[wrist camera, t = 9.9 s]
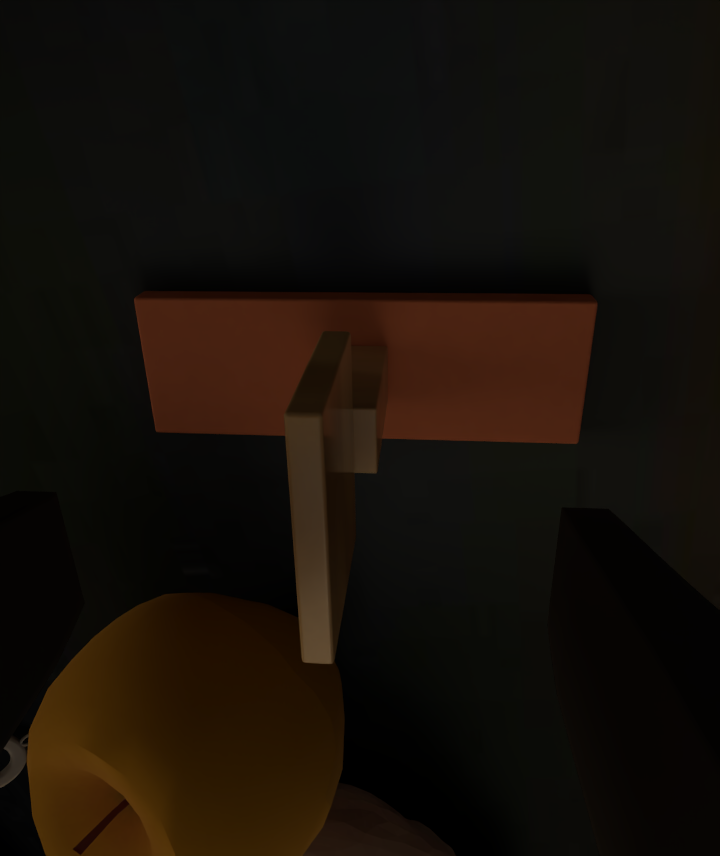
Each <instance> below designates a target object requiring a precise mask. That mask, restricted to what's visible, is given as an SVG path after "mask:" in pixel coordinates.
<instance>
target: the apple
mask: <svg viewBox="0 0 720 856" xmlns="http://www.w3.org/2000/svg"><path fill="white" fill-rule="evenodd" d="M344 723H345V717H344V705H343V694H342V683H341V678H340V673H339V669H338V667H337V665H336V663H335V661H334V662H333V664H318V663H305V662H303V661H302V656H301V643H300V629H299V618H298V617H296V616H293V615H291V614H289V613H287V612H284V611H282V610H280V609H278V608H275V607H273V606H271V605H269V604H265V603H260V602H255V601H250V600H245V599H240V598H235V597H230V596H226V595H221V594H216V593H174V594H165V595H162V596H160V597H157V598H155V599H152V600H150V601H147V602H145V603H142V604H140V605H137V606H136V607H134V608H133V609H131V610H129V611H128V612H126V613H125V614H123V615H122V616H120V617H118V618H117V619H116V620H114V621H113V622H112V623H111V624H109V625H108V626H107V627H106V628H104V629H103V630H102V631H101V632H100V633H98V634H97V635H96V636H95V637H93V638H92V639H91V640H90V641H89V643H88V644H87V645H86V646H85V647H84V648H83V649H82V650H81V651H80V652H79V653H78V654H77V655H76V656H75V657H74V658H73V659H72V660H71V661H70V663H69V664H68V665H67V666H66V667H65V669H64V670H63V671H62V672H61V673H60V675H59V676H58V677H57V678H56V679H55V681H54V682H53V683H52V684H51V685H50V687H49V688H48V690H47V692H46V694H45V696H44V699H43V701H42V703H41V705H40V707H39V710H38V712H37V714H36V716H35V718H34V721H33V723H32V725H31V727H30V729H29V739H28V752H27V767H28V776H29V785H30V796H31V806H32V817H33V820H34V823H35V826H36V828H37V831H38V834H39V837H40V840H41V843H42V846H43V849H44V852H45V854H46V856H303V854H304V853H305V851H306V850H307V849H308V847H309V846H310V844H311V843H312V842H313V840H314V839H315V837H316V836H317V835H318V833H319V832H320V830H321V829H322V828H323V826H324V823H325V821H326V818H327V816H328V813H329V811H330V808H331V805H332V802H333V798H334V795H335V792H336V789H337V786H338V782H339V779H340V776H341V773H342V769H343V748H344Z"/></svg>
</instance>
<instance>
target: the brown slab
mask: <svg viewBox="0 0 720 856" xmlns="http://www.w3.org/2000/svg"><path fill="white" fill-rule="evenodd" d="M387 402H388V348H387V347H386V346H351V334H350V332H347V331H324V332H322V334H321V336H320V338H319V340H318V342H317V344H316V347H315V349H314V351H313V353H312V355H311V357H310V360H309V362H308V364H307V366H306V368H305V370H304V372H303V375H302V377H301V379H300V381H299V383H298V385H297V388H296V390H295V392H294V394H293V396H292V398H291V400H290V403H289V405H288V407H287V409H286V411H285V414H284V426H285V439H286V453H287V466H288V480H289V493H290V507H291V521H292V534H293V548H294V561H295V575H296V588H297V602H298V616H299V629H300V643H301V656H302V661H303V662H305V663H318V664H333V662H334V660H335V654H336V648H337V643H338V637H339V631H340V625H341V619H342V614H343V608H344V602H345V596H346V591H347V585H348V579H349V573H350V568H351V562H352V556H353V550H354V544H355V539H356V519H355V479H354V473H377V471H378V464H379V457H380V450H381V443H382V436H383V430H384V423H385V416H386V409H387Z"/></svg>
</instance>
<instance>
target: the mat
mask: <svg viewBox="0 0 720 856" xmlns="http://www.w3.org/2000/svg"><path fill="white" fill-rule="evenodd" d="M134 303H135V309H136V315H137V321H138V327H139V333H140V339H141V345H142V351H143V357H144V363H145V369H146V375H147V381H148V387H149V393H150V399H151V405H152V411H153V417H154V423H155V429H156V432H169V433H205V434H242V435H279V436H285V426H284V414H285V411H286V409H287V407H288V405H289V403H290V400H291V398H292V396H293V394H294V392H295V390H296V388H297V385H298V383H299V381H300V379H301V377H302V375H303V372H304V370H305V368H306V366H307V364H308V362H309V360H310V357H311V355H312V353H313V351H314V349H315V347H316V344H317V342H318V340H319V338H320V336H321V334H322V332H324V331H347V332H350V334H351V346H386V347H387V348H388V402H387V409H386V416H385V423H384V430H383V436H382V438H389V439H425V440H462V441H499V442H536V443H572V444H576V443H578V441H579V435H580V428H581V421H582V413H583V406H584V399H585V392H586V384H587V377H588V370H589V363H590V355H591V348H592V341H593V334H594V326H595V319H596V312H597V305H598V304H597V301H596V300H595V299H594V297H593V296H592V295H590V294H502V293H364V292H225V291H144V292H143V293H141V294H140V295H138V296H137V297H135V299H134Z"/></svg>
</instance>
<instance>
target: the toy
mask: <svg viewBox="0 0 720 856" xmlns="http://www.w3.org/2000/svg"><path fill="white" fill-rule="evenodd" d="M303 856H456V855H455V853H454V851H453V849H452V848H451V847H450V846H449V845H448V844H446V843H445V842H443V841H442V840H441V839H440V838H439V837H438V836H437V835H436V834H435V833H434V832H433V831H432V830H431V829H430V828H428V827H427V826H425V825H423V824H422V823H420V822H418V821H415V820H409V819H406V818H404V817H403V816H402V815H401V814H400V813H399V812H398V811H396V810H395V809H394V808H392V807H391V806H390V805H388V804H387V803H385V802H384V801H383V800H381V799H379V798H377V797H376V796H375V795H373V794H371V793H369V792H367V791H364V790H362V789H360V788H357V787H355V786H352V785H349V784H343V783H338V786H337V789H336V792H335V795H334V798H333V802H332V805H331V808H330V811H329V813H328V816H327V818H326V821H325V823H324V826H323V828H322V829H321V830H320V832H319V833H318V835H317V836H316V837H315V839H314V840H313V842H312V843H311V844H310V846H309V847H308V849H307V850H306V851H305V853H304V854H303Z"/></svg>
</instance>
